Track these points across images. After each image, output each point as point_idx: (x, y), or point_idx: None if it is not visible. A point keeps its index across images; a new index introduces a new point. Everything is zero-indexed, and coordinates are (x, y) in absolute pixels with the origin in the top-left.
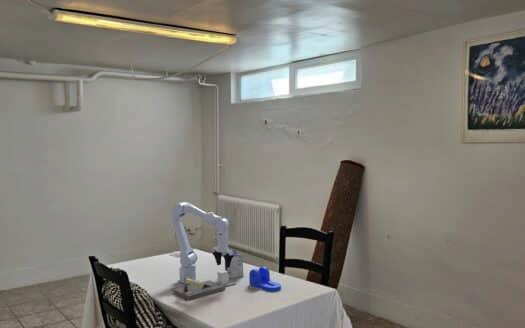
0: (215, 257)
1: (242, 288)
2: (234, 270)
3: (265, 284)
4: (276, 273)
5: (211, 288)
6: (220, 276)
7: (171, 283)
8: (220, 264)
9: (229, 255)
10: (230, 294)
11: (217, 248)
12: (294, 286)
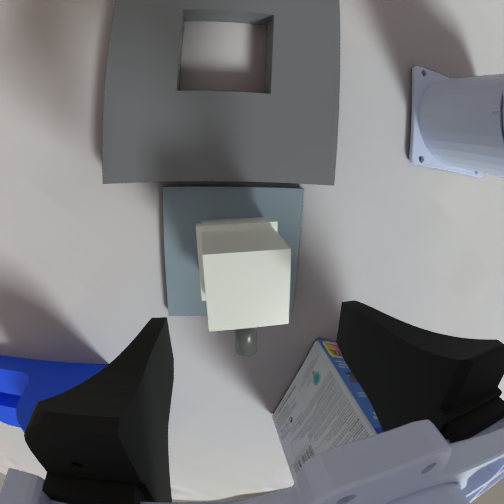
0: (421, 339)
1: (67, 293)
2: (309, 408)
3: (13, 388)
4: (195, 496)
5: (134, 62)
6: (232, 238)
7: (475, 49)
8: (338, 340)
9: (52, 477)
10: (16, 158)
11: (488, 473)
12: (6, 440)
